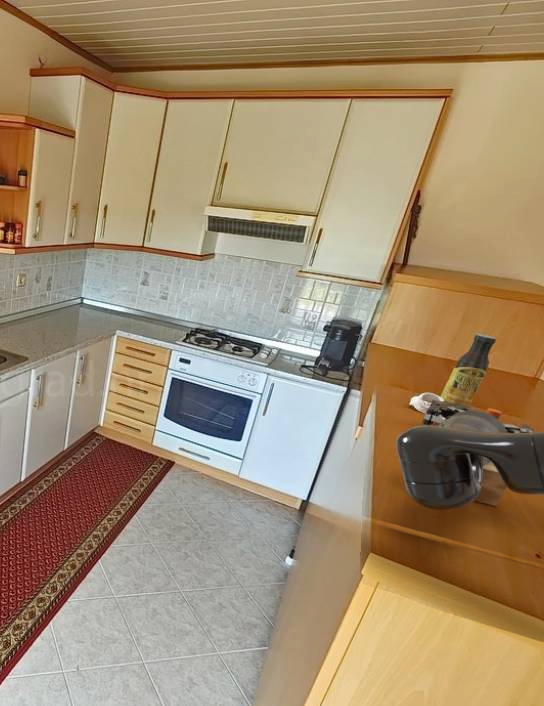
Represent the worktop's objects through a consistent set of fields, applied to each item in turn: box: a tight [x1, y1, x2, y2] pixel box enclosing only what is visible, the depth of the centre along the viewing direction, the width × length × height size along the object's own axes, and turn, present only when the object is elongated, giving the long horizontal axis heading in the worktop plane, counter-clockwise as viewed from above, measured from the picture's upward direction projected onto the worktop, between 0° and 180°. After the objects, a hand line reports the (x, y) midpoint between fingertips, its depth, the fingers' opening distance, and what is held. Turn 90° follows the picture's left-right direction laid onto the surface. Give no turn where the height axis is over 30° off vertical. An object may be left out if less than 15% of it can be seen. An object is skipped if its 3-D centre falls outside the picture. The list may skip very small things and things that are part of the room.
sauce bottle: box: [440, 333, 497, 407], centre depth 125 cm, size 7×6×20 cm
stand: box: [473, 462, 507, 507], centre depth 85 cm, size 8×8×6 cm
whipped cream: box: [409, 392, 444, 415], centre depth 124 cm, size 8×7×5 cm
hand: (490, 420), depth 82 cm, fingers open, 8 cm apart
